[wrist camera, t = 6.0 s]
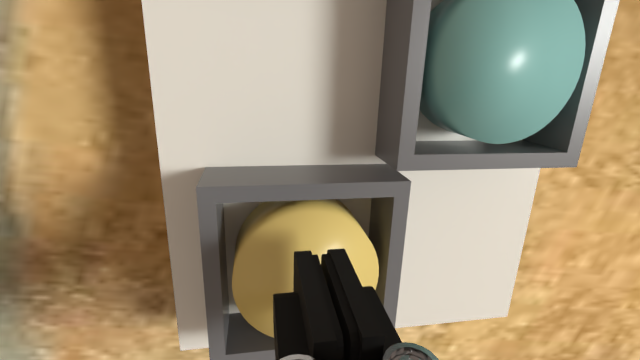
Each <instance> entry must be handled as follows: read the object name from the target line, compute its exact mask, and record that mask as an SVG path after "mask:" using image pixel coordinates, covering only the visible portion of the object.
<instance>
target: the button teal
mask: <svg viewBox="0 0 640 360" xmlns="http://www.w3.org/2000/svg"><path fill="white" fill-rule="evenodd" d="M584 56H585V30H584V24H583V20H582V17H581V13H580V11H579V9H578V6H577V4H576V3H575V1H574V0H444V1H442V2H441V3H440V4H438V5H437V6H436V7H435V8H434V9H433V10H432V11H431V12H430V19H429V28H428V37H427V46H426V55H425V64H424V73H423V82H422V90H421V99H420V108H419V109H420V111H421V112H422V114H423V115H424V116H425V117H426V118H427V119H428V120H430V121H431V122H432V123H433V124H435V125H437V126H438V127H440V128H443V129H445V130H448V131H451V132H454V133H457V134H460V135H463V136H466V137H469V138H472V139H475V140H478V141H481V142H485V143H490V144H506V143H511V142H516V141H519V140H522V139H525V138H527V137H529V136H531V135H533V134H535V133H536V132H538V131H539V130H541V129H542V128H544V127H545V126H546V125H547V124H548V123H550V122H551V121H552V120H553V119H554V118H555V117H556V116H557V115H558V113H559V112H560V111H561V110H562V108H563V107H564V106H565V104H566V103H567V101H568V100H569V98H570V97H571V95H572V93H573V91H574V89H575V87H576V85H577V82H578V80H579V77H580V74H581V70H582V67H583V62H584Z"/></svg>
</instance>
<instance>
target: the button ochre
mask: <svg viewBox="0 0 640 360" xmlns="http://www.w3.org/2000/svg"><path fill="white" fill-rule="evenodd" d="M343 248H344V249H345V250H346V253H347V255H348V257H349V259H350V261H351V263H352V265H353V268H354V270H355V272H356V274H357V276H358V278H359V280H360V283H361V285H362V287H364V286H372V287H373V288H374V289H375V290H376V286H377V283H378V277H379V264H378V258H377V254H376V251H375V249H374V247H373V245H372V243H371V241H370V240H369V238H368V237H367V235H366V234H365V232H364V231H363V229H362V228H361V226H360V225H359V223H358V222H357V220H356V219H355V217H354V216H353V214H352V213H351V211H350V210H349V209H348V208H347V207H346V206H345V205H344V204H343V203H341V202H340V201H339V200H337V199H325V200H297V201H269V202H263V203H261V204H260V205H259V206H258V207H256V208H255V209H254V210H253V211H252V212H251V213H250V214H249V216H248V217H247V218H246V220H245V221H244V223H243V224H242V226H241V228H240V230H239V233H238V236H237V240H236V245H235V255H234V264H233V274H232V291H233V297H234V300H235V303H236V305H237V307H238V310H239V311H240V313H241V314H242V316H243V317H244V318H245V320H246V321H247V322H248V323H249V324H250V325H252V326H253V327H254V328H255V329H257V330H258V331H260V332H262V333H263V334H266V335H268V336H270V337H273V338H274V326H273V294H276V293H289V292H293V281H294V251H311V252H312V255H316V254H317V255H318V257H319V261H320V264H321V256H322V254H327V250H328V249H343Z"/></svg>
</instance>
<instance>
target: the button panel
mask: <svg viewBox="0 0 640 360" xmlns="http://www.w3.org/2000/svg"><path fill="white" fill-rule="evenodd" d="M141 1H142V10H143V19H144V28H145V37H146V46H147V55H148V64H149V73H150V82H151V91H152V100H153V109H154V118H155V127H156V136H157V145H158V154H159V163H160V172H161V181H162V190H163V199H164V208H165V217H166V226H167V235H168V244H169V253H170V262H171V271H172V280H173V289H174V298H175V307H176V316H177V325H178V334H179V343H180V351H182V350H191V349H201V348H209V355H210V360H275V345H274V338H273V337H270V336H268V335H266V334H263V333H262V332H260V331H258V330H257V329H255V328H254V327H253V326H252V325H250V324H249V323H248V322H247V321H246V320H245V318H244V317H243V316H242V314H241V313H240V311H239V310H238V307H237V305H236V303H235V300H234V297H233V291H232V274H233V264H234V255H235V245H236V240H237V236H238V233H239V230H240V228H241V226H242V224H243V223H244V221H245V220H246V218H247V217H248V216H249V214H250V213H251V212H252V211H253V210H254V209H255V208H256V207H258V206H259V205H260V204H261V203H263V202H269V201H297V200H325V199H337V200H339V201H340V202H341V203H343V204H344V205H345V206H346V207H347V208H348V209H349V210H350V211H351V213H352V214H353V216H354V217H355V219H356V220H357V222H358V223H359V225H360V226H361V228H362V229H363V231H364V232H365V234H366V235H367V237H368V238H369V240H370V241H371V243H372V245H373V247H374V249H375V251H376V254H377V258H378V264H379V277H378V283H377V286H376V290H375V291H376V293H377V295H378V297H379V299H380V301H381V303H382V305H383V307H384V309H385V311H386V312H387V314H388V316H389V318H390V320H391V322H392V324H393V326H394V328H402V327H411V326H421V325H430V324H440V323H450V322H459V321H469V320H478V319H488V318H497V317H507V315H508V310H509V306H510V301H511V297H512V292H513V288H514V284H515V279H516V275H517V270H518V266H519V261H520V257H521V252H522V248H523V244H524V239H525V235H526V230H527V226H528V221H529V217H530V212H531V208H532V204H533V199H534V195H535V190H536V186H537V181H538V177H539V172H540V168H559V167H577V164H578V160H579V156H580V152H581V148H582V144H583V140H584V136H585V132H586V129H587V125H588V121H589V117H590V113H591V109H592V105H593V101H594V97H595V93H596V90H597V86H598V82H599V78H600V74H601V70H602V66H603V62H604V58H605V54H606V51H607V47H608V43H609V39H610V35H611V31H612V27H613V23H614V19H615V15H616V12H617V8H618V4H619V0H574V1H575V3H576V4H577V6H578V9H579V11H580V13H581V17H582V20H583V24H584V30H585V56H584V62H583V67H582V70H581V74H580V77H579V80H578V82H577V85H576V87H575V89H574V91H573V93H572V95H571V97H570V98H569V100H568V101H567V103H566V104H565V106H564V107H563V108H562V110H561V111H560V112H559V113H558V115H557V116H556V117H555V118H554V119H553V120H552V121H551V122H550V123H548V124H547V125H546V126H545V127H544V128H542V129H541V130H539V131H538V132H536V133H535V134H533V135H531V136H529V137H527V138H525V139H522V140H519V141H516V142H511V143H506V144H490V143H485V142H481V141H478V140H475V139H472V138H469V137H466V136H463V135H460V134H457V133H454V132H451V131H448V130H445V129H443V128H440V127H438V126H437V125H435V124H433V123H432V122H431V121H430V120H428V119H427V118H426V117H425V116H424V115H423V114H422V112H421V111H420V109H419V108H420V99H421V90H422V82H423V73H424V64H425V55H426V46H427V37H428V28H429V19H430V12H431V11H432V10H433V9H434V8H435V7H436V6H437V5H438V4H440V3H441V2H442V1H444V0H141Z"/></svg>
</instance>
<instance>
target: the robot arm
mask: <svg viewBox="0 0 640 360" xmlns="http://www.w3.org/2000/svg"><path fill="white" fill-rule="evenodd" d="M273 326H274V345H275V360H438V358H437V357H436V356H435V355H434V354H433V353H432V352H431V351H429V350H427V349H426V348H424V347H422V346H419V345H417V344H413V343H406V342H405V343H402V342H401V340H400V338H399V336H398V334H397V332H396V330H395V328H394V326H393V324H392V322H391V320H390V318H389V316H388V314H387V312H386V311H385V309H384V307H383V305H382V303H381V301H380V299H379V297H378V295H377V293H376V291H375V289H374V288H373V287H372V286H364V287H362V285H361V283H360V280H359V278H358V276H357V274H356V272H355V270H354V268H353V265H352V263H351V261H350V259H349V257H348V255H347V253H346V250H345V249H344V248H343V249H328V250H327V254H322V256H321V264H320V261H319V257H318V255H317V254H316V255H312V252H311V251H294V281H293V292H289V293H276V294H273Z"/></svg>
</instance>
